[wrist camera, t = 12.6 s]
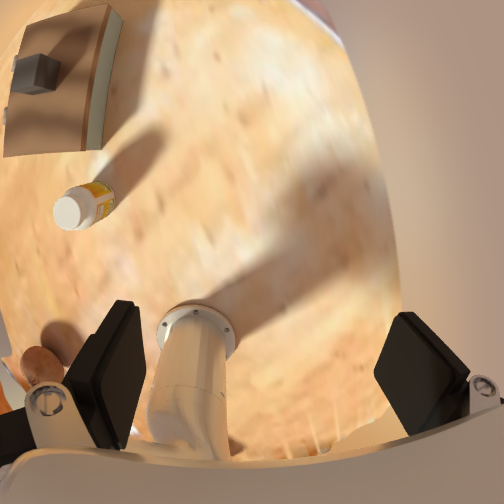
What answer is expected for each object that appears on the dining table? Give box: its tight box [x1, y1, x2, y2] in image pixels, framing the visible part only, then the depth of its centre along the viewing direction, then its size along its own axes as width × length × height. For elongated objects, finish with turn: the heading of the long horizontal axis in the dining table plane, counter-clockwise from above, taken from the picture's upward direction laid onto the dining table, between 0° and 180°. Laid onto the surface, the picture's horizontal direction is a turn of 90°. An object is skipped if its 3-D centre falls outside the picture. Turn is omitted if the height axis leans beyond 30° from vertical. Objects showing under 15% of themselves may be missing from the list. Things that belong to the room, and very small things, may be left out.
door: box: [3, 4, 112, 158], centre depth 22 cm, size 20×15×6 cm
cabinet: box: [86, 8, 123, 150], centre depth 27 cm, size 20×15×5 cm
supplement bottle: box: [53, 181, 115, 231], centre depth 32 cm, size 5×5×10 cm
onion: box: [20, 346, 64, 388], centre depth 40 cm, size 10×9×10 cm
